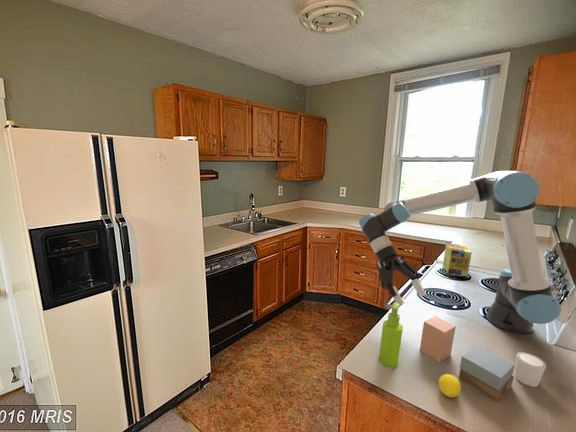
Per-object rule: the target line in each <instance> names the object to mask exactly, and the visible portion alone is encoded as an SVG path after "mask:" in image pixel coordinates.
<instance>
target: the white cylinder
mask: <svg viewBox="0 0 576 432" xmlns="http://www.w3.org/2000/svg"><path fill="white" fill-rule="evenodd" d="M515 356H516V357H515V366H514V377H515V378H516V379H517V380H518V381H519V382H520V383H522V384H524V385H526V386H530V387H533V388H535V387H538V386H539V384H540V382H541V379H542V377H543V376H544V372H545V371H546V368H547V364H546V362H545V361H544V360H543V359H541V358H540V357H538V356H536V355H533V354H531V353H528V352H522V351H519V352H517V353H516V355H515Z"/></svg>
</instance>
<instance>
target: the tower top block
mask: <svg viewBox="0 0 576 432" xmlns="http://www.w3.org/2000/svg"><path fill="white" fill-rule="evenodd" d="M515 366H516V363H514V362H512V361H509V360H507V359H506V358H503V357H501V356H499V355H498V354H496V353H494V352H491V351H489V350H488V349H485V348H484V347H482V346H480V345H478V344H476V345H475V346H473V347H472V348H471V349H470V350H468V351H467V352H465V353H464V354H463V355H462V356H461V359H460V365H459V369H460V368H461V369H463V370H464V371H466V372H468V373H469V374H471V375H473V376H474V377H476V378H478V379H480V380H481V381H483V382H485V383H486V384H488V385H490V386H491V387H493V388H495V389H496V390H498V391H499V390H500V389H501V387H502V386H503V385H504V384H505V383H506V382H507V381H508V380H509V379H510V378H511V377H512V376H513V375H514V371H515Z"/></svg>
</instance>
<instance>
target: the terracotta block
mask: <svg viewBox="0 0 576 432" xmlns="http://www.w3.org/2000/svg"><path fill="white" fill-rule="evenodd" d="M456 328H457V325H454V324H452V323H451V322H448V321H446V320H445V319H443V318H440V317H438V316H436V315H434V316H433V317H431V318H429V319H426V320H424V321H423V326H422V332H421V340H420V346H419V351H421V352H423V353H424V354H426V355H427V356H429V357H431V358H432V359H434V360H435V361H437V362H438V363H440V362H442V361H443V360H445V359H447V358H448V357H450V356H451V355H452V350H453V345H454V344H453V343H454V339H455V334H456V333H455V332H456Z"/></svg>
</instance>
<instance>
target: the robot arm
mask: <svg viewBox="0 0 576 432" xmlns="http://www.w3.org/2000/svg"><path fill="white" fill-rule="evenodd" d="M539 194H540V185H539V182H538V181H537V179H536V178H535V177H534V176H532V175H531V174H529V173H526V172H524V171H522V170H497V171H494V172H491V173H487V174H484V175H481V176H479V177H475V178H472V179H469V181H468V182H466V183H463V184H458V185H455V186H452V187H448V188H444V189H443V188H442V189H440V190H436V191H432V192H428V193H425V194H421V195H417V196H413V197H409V198H406V199H403V200H398V201H390V202H389V203H387V204H386V205H385V207H384V210H383V211H382V212H381V213H379V214H377V215H375V214H374V213H367V214H365V215H363V216H362V217H361V218H360V219H359V220H358V225H359V227H360V228H361V232H362V233H363V235H364V237H365V238H366V239H367V241H368V244H369V245H370V246H371V248H372V250H373V252H374V253H375V256H376V258H377V260H378V263H377V264H376V266H377V269H378V273H379V280H380V287H381V288H382V289H384V290H386V291H387V290H388V292H389V294H390V296H391V297H392V298H393V300H394V303H395V302H396V301H397V302H400V303H403V304H405V301H404V299H403V298H402V297H401V295H400V293H399V291H398V289H397V287H396V286H395V285H394V286H393V284H394V282H393V281H394V279H393V278H394V272H400V273H401V274H403V275H404V276H406V277H407V278H408V279H410V280H411V281H410V283H411V284H412V287H413V288H414V289H415V291H416V292H417V294H418V296H419V298H422V297H424V296H426V295H427V292H426V291H425V289H424V288H423V286H422V283H421V282H420V280H419V278H420V273H419V272H418V271H417V270H416V269H415V268H414V267H413V266H412V265H411V264H410V263H408V261H406V259H405V257H404V256H402V255H401V256H400V257H397V255H398V252H397V250H396V248H395V247H394V245H392V241H391V240H390V238H389V237H388V235H387V234H386V232H388V231H389V230H391V229H393V228H394V227H396V226H398V225H400V224H403V223H405V221H407V220H409V219H410V218H411V217H412V216H415V215H420V214H424V213H427V212H432V211H437V210H440V209H444V208H450V207H452V206H457V205H461V204H466V203H469V202H475V203H481V202H485V201H486V202H487V201H491V204H492V207H493V209H492V210H493V213H495V214H496V215H498V216H500V217H499V218H500V222H501V227H502V231H503V233H502V234H503V236H504V237H503V239H504V242H505V248H506V252H507V258H508V263H509V268H503V269H502V270H501V271H500V274H499V275H498V277H499V278H498V282H497V287H496V293H495V298H494V301H493V303H492V304H491V306H490V307H489V308H488V310H487V311H486V319H487V320H488V321H489V323H491V324H492V325H495V326H496V327H498V328H500V329H502V330H503V331H507V332H511V333H515V334H520V335H525V334H527V335H528V334H531V333H533V329H534V324H536V325H545V324H549V323H552V322H554V320H556V319H557V318H559V316H560V315H561V312H562V307H561V304H560V302H559V301H558V299H557V298H555V297H554V294H553V288H552V284H551V281H550V280H548V279H547V278H545V277H544V272H543V268H542V261H541V256H540V251H539V245H538V239H537V235H536V228H535V224H534V223H535V222H534V217H533V211H534V210H536V209H537V202H536V201H537V200H536V199H537V198H538V196H539ZM403 304H402V305H403Z"/></svg>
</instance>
